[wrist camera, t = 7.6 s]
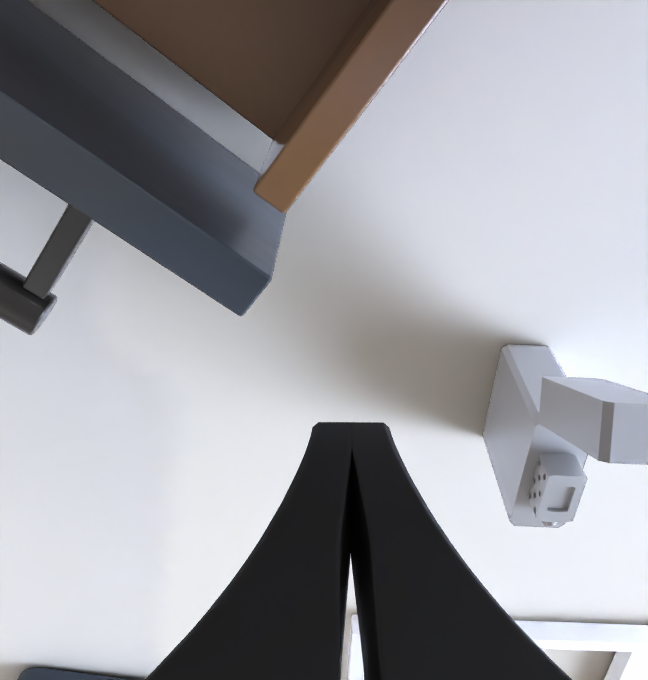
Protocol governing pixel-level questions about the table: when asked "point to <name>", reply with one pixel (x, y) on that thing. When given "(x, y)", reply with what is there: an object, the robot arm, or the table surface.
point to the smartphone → (60, 675)
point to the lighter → (556, 433)
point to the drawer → (188, 129)
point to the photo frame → (561, 645)
